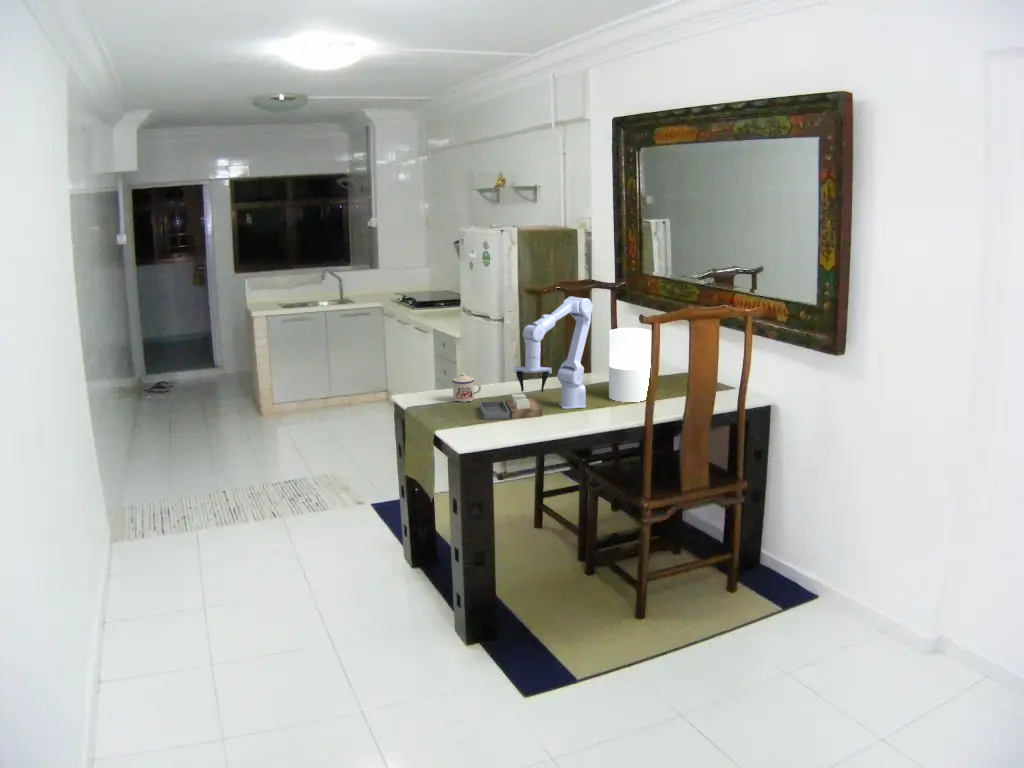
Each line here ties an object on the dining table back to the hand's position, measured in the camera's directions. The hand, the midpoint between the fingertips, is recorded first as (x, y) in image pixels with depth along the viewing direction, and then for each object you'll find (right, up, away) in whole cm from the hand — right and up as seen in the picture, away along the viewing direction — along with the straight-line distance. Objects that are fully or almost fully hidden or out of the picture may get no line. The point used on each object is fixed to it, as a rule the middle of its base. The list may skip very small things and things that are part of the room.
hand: (532, 391), depth 326 cm
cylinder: (+41, -3, +26) cm, 49 cm away
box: (-15, -9, +7) cm, 19 cm away
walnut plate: (-3, -8, +9) cm, 13 cm away
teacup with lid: (-27, -4, +28) cm, 39 cm away
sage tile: (-5, -4, +12) cm, 14 cm away
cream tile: (-4, -6, +4) cm, 8 cm away
